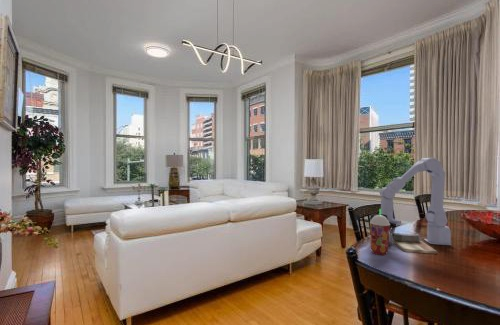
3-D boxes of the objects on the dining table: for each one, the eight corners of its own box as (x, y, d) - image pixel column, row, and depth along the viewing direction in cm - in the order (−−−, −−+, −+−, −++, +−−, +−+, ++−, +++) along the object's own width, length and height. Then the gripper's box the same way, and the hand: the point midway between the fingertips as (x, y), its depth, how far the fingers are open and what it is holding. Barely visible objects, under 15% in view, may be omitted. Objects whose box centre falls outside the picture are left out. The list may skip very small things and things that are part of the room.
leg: (418, 240, 136) (418, 233, 136) (421, 242, 133) (421, 235, 133) (392, 238, 138) (392, 232, 138) (394, 240, 135) (394, 234, 135)
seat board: (421, 243, 137) (421, 240, 137) (437, 253, 121) (437, 250, 121) (391, 241, 140) (391, 238, 140) (403, 251, 124) (403, 248, 124)
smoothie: (387, 251, 124) (388, 208, 123) (391, 257, 116) (392, 211, 116) (368, 249, 126) (369, 206, 126) (370, 254, 118) (370, 209, 118)
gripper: (369, 208, 147) (369, 232, 147) (395, 213, 134) (394, 240, 134) (378, 207, 150) (377, 231, 151) (403, 211, 138) (403, 238, 138)
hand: (386, 235), depth 143 cm, fingers closed
